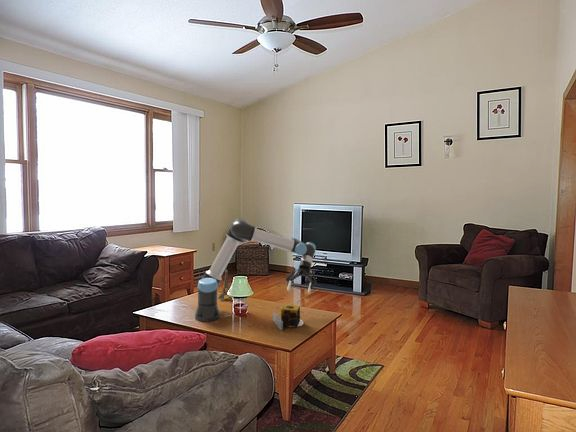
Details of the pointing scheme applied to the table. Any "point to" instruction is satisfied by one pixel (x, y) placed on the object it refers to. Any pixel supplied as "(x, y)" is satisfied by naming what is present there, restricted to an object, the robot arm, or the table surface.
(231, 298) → the eiffel tower
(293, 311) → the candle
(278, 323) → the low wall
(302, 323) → the coaster
